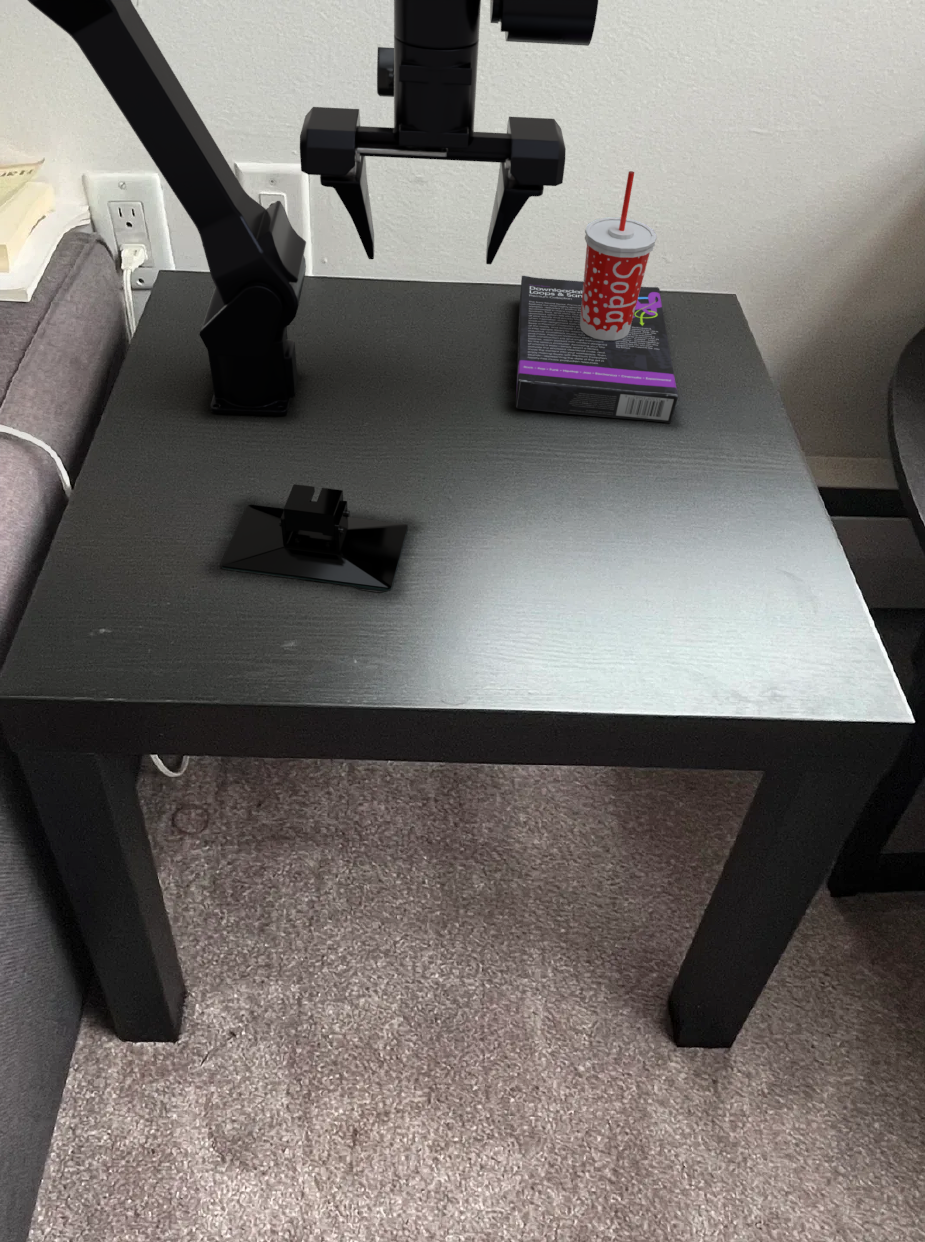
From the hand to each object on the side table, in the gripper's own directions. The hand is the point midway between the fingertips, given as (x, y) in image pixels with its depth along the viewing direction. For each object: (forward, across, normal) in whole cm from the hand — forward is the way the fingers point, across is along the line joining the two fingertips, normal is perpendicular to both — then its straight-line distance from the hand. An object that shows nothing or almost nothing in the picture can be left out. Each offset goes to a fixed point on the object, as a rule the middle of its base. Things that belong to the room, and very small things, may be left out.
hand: (430, 259), depth 77 cm
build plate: (+13, +8, +20) cm, 25 cm away
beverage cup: (+10, -16, -8) cm, 21 cm away
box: (+13, -15, -8) cm, 22 cm away
